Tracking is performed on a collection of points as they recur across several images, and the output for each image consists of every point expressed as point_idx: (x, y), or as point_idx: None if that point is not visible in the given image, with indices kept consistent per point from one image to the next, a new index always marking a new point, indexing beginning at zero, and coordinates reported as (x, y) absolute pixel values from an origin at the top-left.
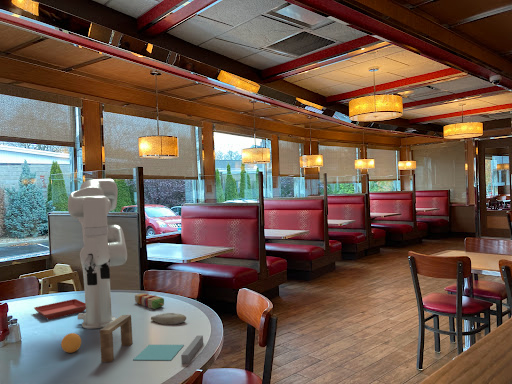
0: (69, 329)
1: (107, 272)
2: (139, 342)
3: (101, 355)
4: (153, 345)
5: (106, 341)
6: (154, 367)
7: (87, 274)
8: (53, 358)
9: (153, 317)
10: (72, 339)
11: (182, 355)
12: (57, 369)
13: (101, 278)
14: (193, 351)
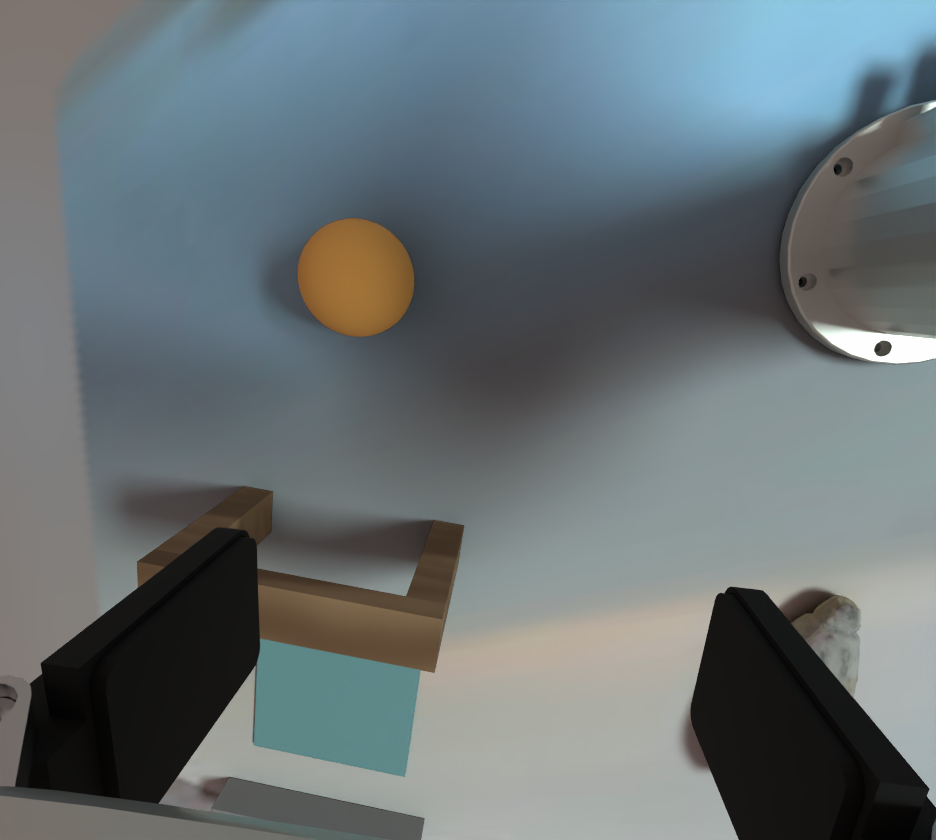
0: (837, 33)
1: (740, 809)
2: (468, 593)
3: (226, 500)
4: None
5: None
6: None
7: (67, 659)
8: (293, 213)
9: (826, 622)
10: (309, 306)
11: (212, 810)
12: (167, 309)
13: (718, 601)
14: None
